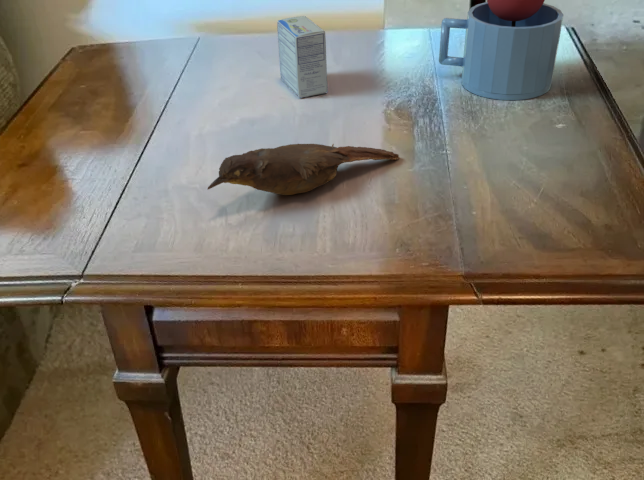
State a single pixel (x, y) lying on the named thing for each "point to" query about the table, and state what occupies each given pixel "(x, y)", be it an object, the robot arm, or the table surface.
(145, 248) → the table surface
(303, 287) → the table surface
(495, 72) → the mug
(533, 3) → the lollipop
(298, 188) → the bird sculpture
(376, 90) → the table surface
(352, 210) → the table surface
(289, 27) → the medicine box
